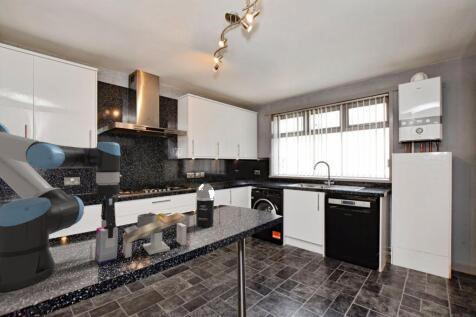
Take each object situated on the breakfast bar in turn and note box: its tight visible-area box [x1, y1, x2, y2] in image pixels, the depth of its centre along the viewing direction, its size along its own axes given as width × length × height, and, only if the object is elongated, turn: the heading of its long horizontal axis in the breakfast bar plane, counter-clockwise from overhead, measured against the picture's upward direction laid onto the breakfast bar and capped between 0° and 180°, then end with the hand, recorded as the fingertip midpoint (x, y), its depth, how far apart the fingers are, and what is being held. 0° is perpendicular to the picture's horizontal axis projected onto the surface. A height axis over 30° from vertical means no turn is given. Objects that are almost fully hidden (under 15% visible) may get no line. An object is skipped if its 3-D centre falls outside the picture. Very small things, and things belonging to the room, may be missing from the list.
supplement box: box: [94, 226, 119, 265], centre depth 81 cm, size 6×6×12 cm
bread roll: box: [149, 212, 168, 221], centre depth 124 cm, size 13×10×8 cm
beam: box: [122, 212, 187, 244], centre depth 92 cm, size 24×9×4 cm, turn 127°
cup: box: [136, 212, 156, 240], centre depth 107 cm, size 8×8×10 cm
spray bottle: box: [195, 181, 215, 228], centre depth 127 cm, size 10×10×25 cm
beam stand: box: [122, 222, 187, 259], centre depth 92 cm, size 24×10×8 cm, turn 127°
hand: (107, 241), depth 81 cm, fingers open, 13 cm apart
